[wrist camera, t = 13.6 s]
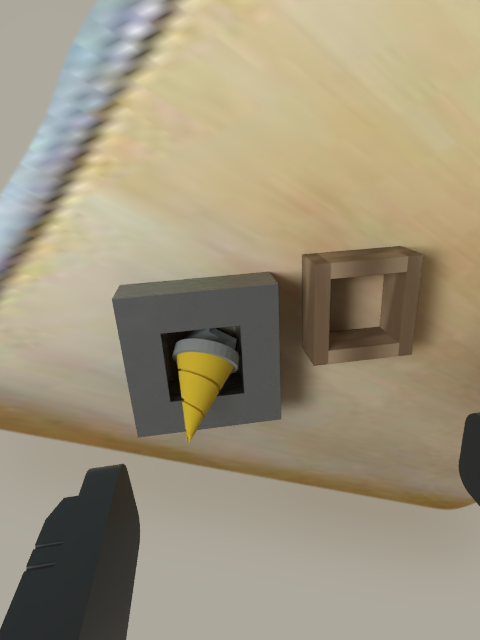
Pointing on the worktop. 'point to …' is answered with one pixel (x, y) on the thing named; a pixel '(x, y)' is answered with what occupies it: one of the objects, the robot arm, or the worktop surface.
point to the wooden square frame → (395, 311)
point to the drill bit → (203, 371)
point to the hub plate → (195, 314)
